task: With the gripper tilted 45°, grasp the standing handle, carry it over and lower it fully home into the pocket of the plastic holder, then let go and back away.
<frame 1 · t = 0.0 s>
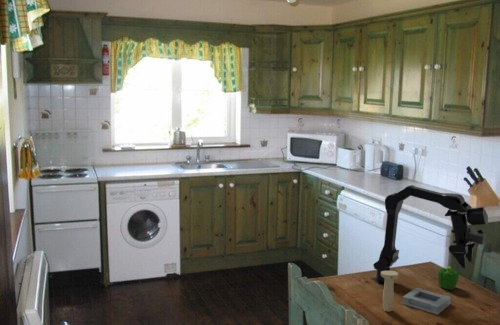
hand: (467, 264, 200), 15 cm above the table, tool pointing down, fingers open, 9 cm apart
bell pepper: (447, 288, 217), on the table
handle: (387, 310, 194), on the table
holder: (426, 304, 200), on the table
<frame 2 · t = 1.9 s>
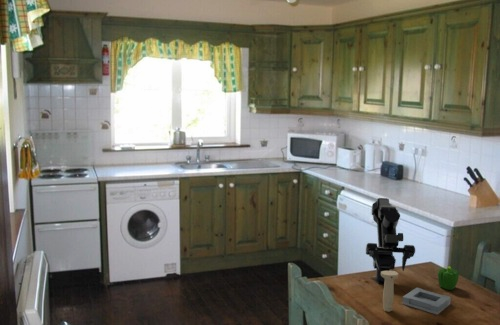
hand: (391, 269, 199), 14 cm above the table, tool tilted 45°, fingers open, 9 cm apart
nothing on the table moved.
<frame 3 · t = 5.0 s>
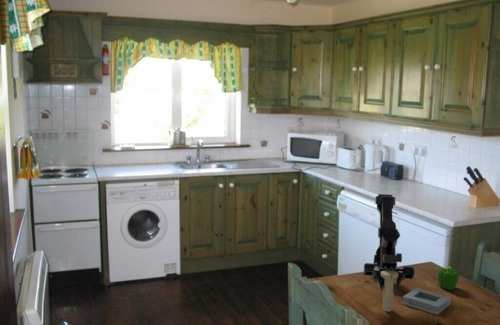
hand: (388, 291, 191), 8 cm above the table, tool tilted 45°, fingers closed on handle, 5 cm apart
handle: (387, 310, 194), on the table, touching gripper
everything else where it was.
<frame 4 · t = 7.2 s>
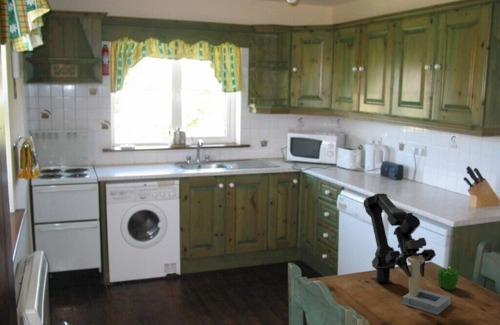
hand: (416, 276, 193), 13 cm above the table, tool tilted 45°, fingers closed on handle, 5 cm apart
handle: (413, 295, 195), point 5 cm above the table, touching gripper
everything else where it was.
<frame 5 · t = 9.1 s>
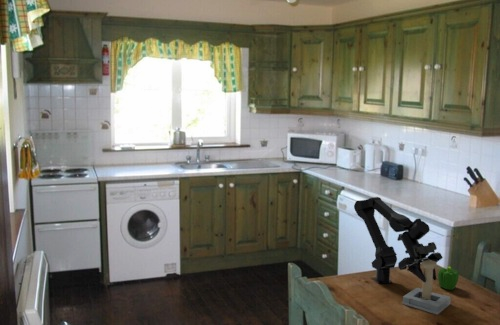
hand: (430, 280, 197), 10 cm above the table, tool tilted 45°, fingers closed on handle, 5 cm apart
handle: (426, 299, 200), point 2 cm above the table, touching gripper
everything else where it was.
when the fingers open (10 cm above the table, at t = 9.3 s): handle stays where it is, resting on holder.
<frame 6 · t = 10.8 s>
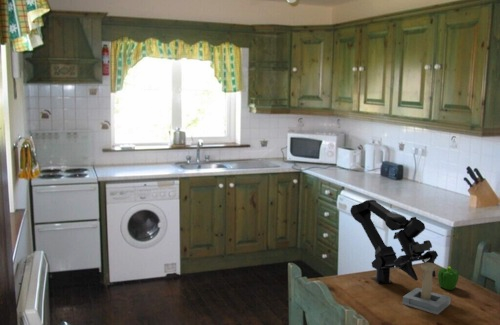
hand: (425, 278, 199), 10 cm above the table, tool tilted 45°, fingers open, 9 cm apart
handle: (425, 301, 200), point 1 cm above the table, touching holder
everything else where it was.
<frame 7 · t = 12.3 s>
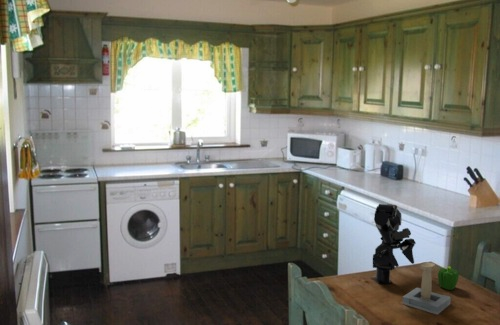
hand: (405, 264, 205), 13 cm above the table, tool tilted 45°, fingers open, 9 cm apart
nothing on the table moved.
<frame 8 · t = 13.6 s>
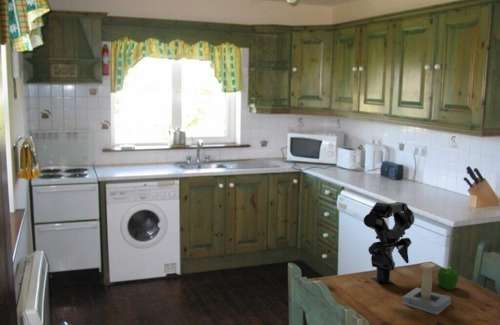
hand: (399, 264, 205), 14 cm above the table, tool tilted 45°, fingers open, 9 cm apart
nothing on the table moved.
at the end: handle 0.4 cm off-centre on the holder, point 0.8 cm above the holder's base; handle tilted 0°; the gripper is holding nothing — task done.
